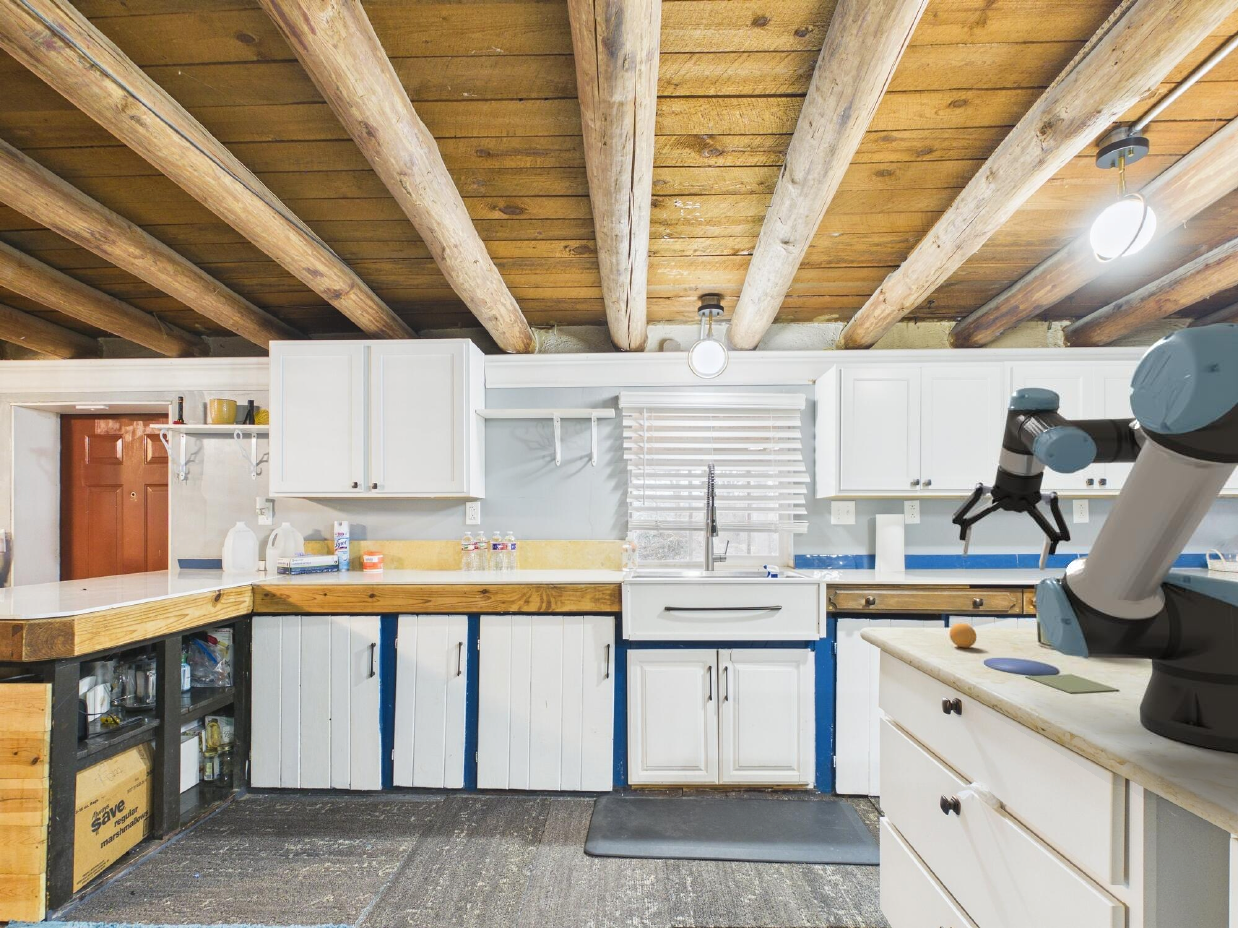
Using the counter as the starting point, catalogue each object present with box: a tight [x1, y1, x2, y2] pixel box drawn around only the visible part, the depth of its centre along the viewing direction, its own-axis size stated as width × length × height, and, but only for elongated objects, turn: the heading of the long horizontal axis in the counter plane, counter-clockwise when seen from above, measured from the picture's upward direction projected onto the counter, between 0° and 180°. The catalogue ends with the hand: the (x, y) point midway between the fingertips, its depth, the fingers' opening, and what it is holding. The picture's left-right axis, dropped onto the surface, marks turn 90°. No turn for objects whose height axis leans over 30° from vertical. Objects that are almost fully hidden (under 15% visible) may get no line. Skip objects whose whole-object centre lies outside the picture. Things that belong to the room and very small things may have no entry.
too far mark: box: [1024, 673, 1121, 694], centre depth 114 cm, size 10×10×1 cm
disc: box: [983, 657, 1060, 676], centre depth 126 cm, size 13×13×1 cm
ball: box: [949, 622, 977, 649], centre depth 143 cm, size 6×6×6 cm
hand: (1002, 559), depth 126 cm, fingers open, 13 cm apart
